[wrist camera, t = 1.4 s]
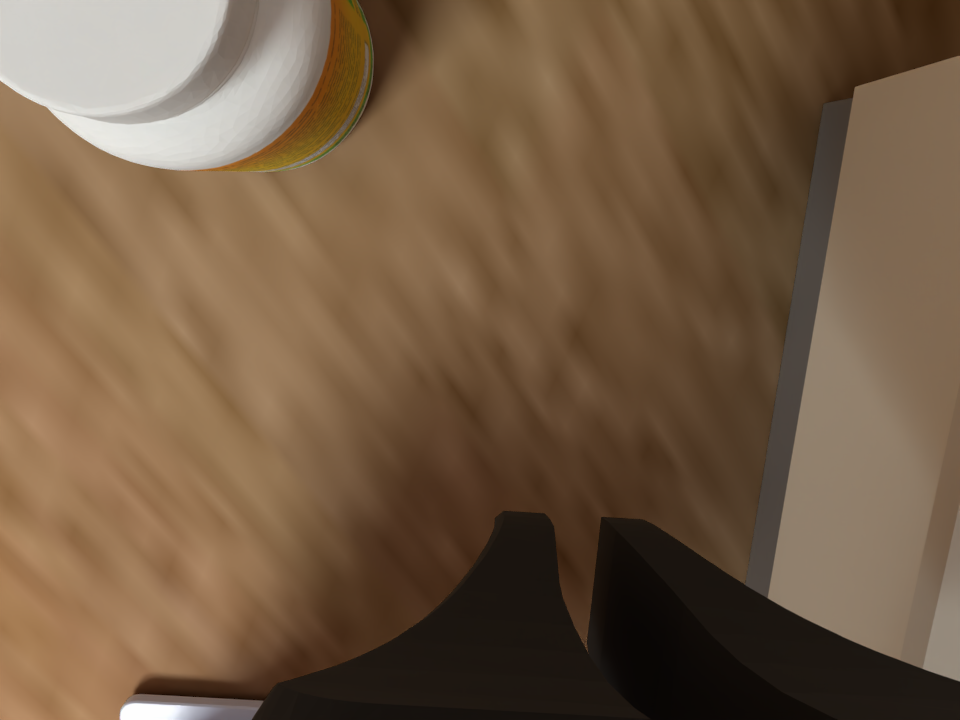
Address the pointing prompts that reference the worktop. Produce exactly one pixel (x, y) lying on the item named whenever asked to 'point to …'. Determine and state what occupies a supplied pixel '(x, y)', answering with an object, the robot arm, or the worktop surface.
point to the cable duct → (798, 340)
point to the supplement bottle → (195, 76)
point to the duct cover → (885, 388)
